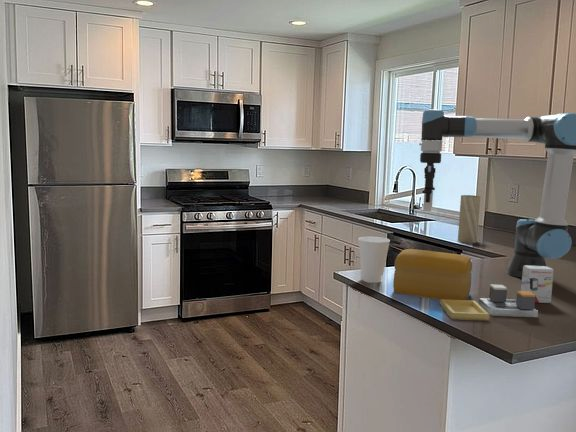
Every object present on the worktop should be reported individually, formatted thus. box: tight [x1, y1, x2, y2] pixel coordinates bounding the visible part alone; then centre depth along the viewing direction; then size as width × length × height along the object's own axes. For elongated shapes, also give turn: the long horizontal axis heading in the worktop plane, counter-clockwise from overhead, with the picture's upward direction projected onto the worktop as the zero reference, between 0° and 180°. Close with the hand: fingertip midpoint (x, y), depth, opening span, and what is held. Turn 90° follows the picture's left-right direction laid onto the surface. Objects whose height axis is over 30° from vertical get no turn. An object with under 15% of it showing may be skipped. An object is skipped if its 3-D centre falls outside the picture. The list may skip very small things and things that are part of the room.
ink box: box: [520, 265, 555, 304], centre depth 181 cm, size 9×5×12 cm, turn 90°
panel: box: [478, 297, 539, 318], centre depth 171 cm, size 14×12×2 cm
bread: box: [392, 248, 473, 301], centre depth 187 cm, size 24×13×15 cm, turn 63°
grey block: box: [516, 290, 536, 309], centre depth 166 cm, size 4×4×5 cm
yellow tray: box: [439, 299, 490, 322], centre depth 167 cm, size 11×14×2 cm
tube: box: [457, 194, 481, 244], centre depth 292 cm, size 10×10×25 cm
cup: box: [357, 236, 391, 284], centre depth 202 cm, size 12×12×16 cm
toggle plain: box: [488, 283, 508, 302], centre depth 174 cm, size 4×4×5 cm
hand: (427, 209), depth 201 cm, fingers open, 13 cm apart
